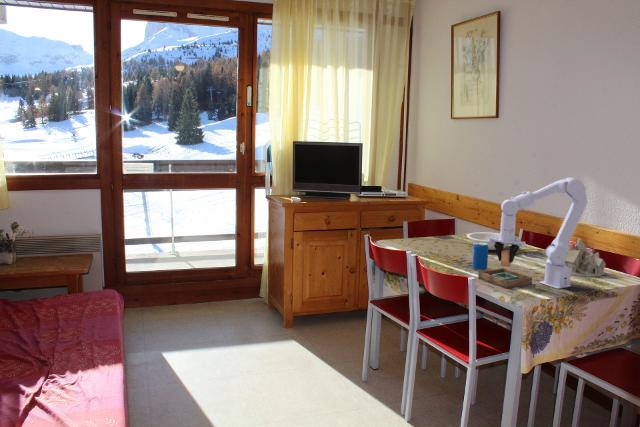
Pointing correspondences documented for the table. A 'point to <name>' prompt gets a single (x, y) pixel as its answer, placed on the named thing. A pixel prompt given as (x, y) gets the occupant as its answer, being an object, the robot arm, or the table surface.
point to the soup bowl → (484, 238)
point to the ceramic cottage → (584, 261)
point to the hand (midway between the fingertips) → (505, 261)
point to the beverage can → (480, 256)
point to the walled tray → (505, 278)
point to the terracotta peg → (505, 258)
